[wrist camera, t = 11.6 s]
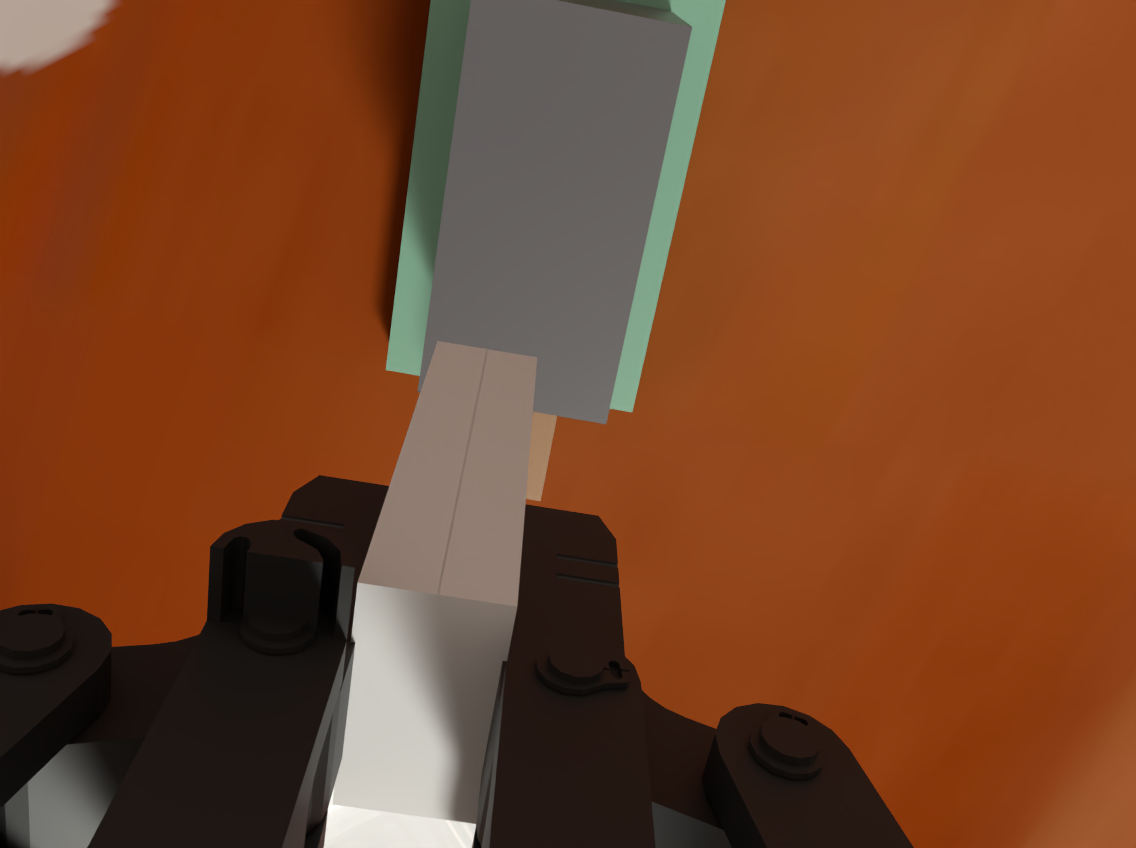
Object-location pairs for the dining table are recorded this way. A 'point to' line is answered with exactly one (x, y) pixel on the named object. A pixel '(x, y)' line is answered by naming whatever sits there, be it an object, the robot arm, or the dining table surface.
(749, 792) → the robot arm
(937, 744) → the dining table surface
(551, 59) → the plug housing
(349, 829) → the square plate
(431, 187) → the header board
